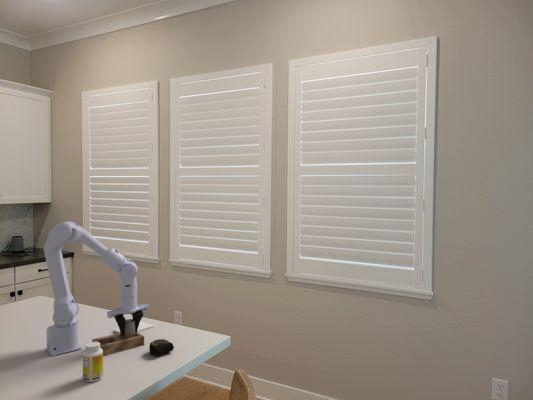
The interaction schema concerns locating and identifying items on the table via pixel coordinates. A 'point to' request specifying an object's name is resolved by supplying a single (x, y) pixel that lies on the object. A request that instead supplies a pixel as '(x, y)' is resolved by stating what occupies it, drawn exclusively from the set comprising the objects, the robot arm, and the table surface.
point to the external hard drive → (139, 327)
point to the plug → (129, 328)
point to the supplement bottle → (92, 362)
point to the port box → (118, 343)
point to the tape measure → (160, 347)
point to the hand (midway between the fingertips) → (128, 333)
